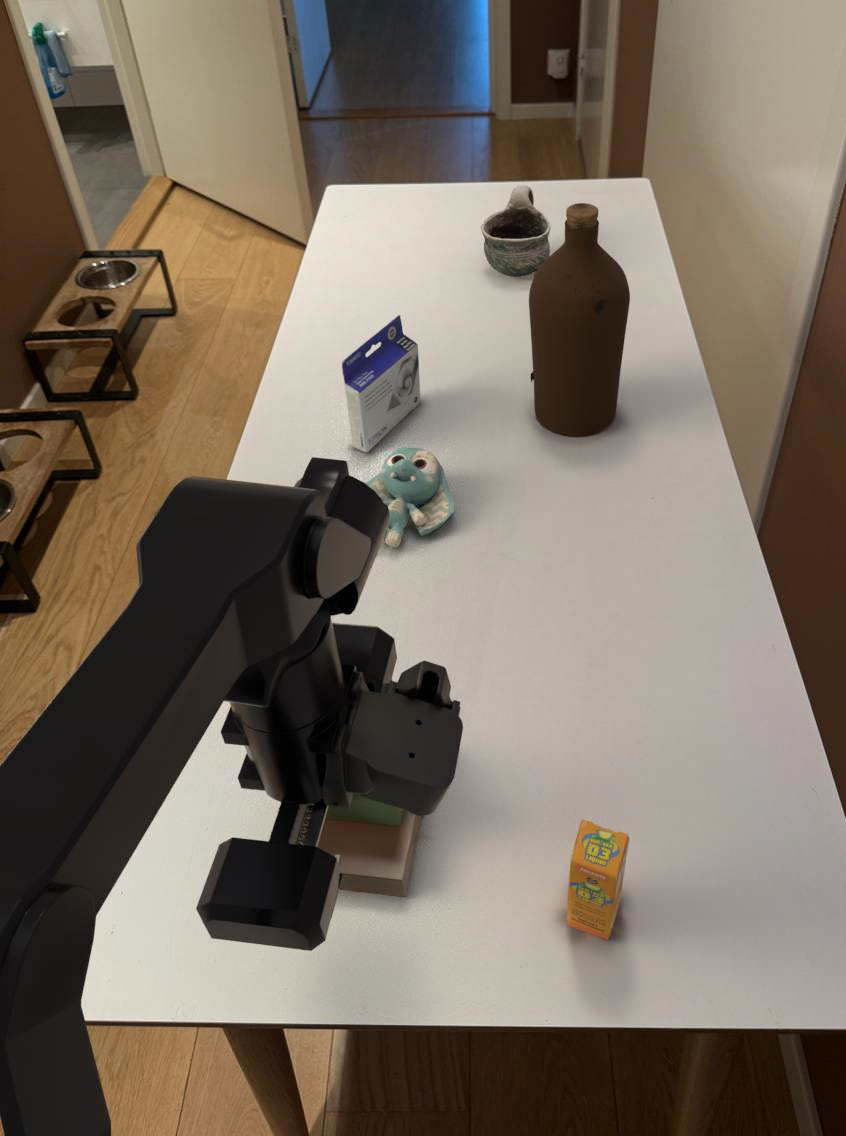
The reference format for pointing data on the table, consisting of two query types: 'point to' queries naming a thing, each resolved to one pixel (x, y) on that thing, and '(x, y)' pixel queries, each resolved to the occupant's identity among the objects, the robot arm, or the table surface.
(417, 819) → the brown rectangular platform
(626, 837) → the supplement box
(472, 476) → the table surface
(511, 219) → the mug
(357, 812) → the green box
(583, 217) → the olive oil
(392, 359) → the ink box
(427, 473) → the stuffed animal
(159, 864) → the table surface
